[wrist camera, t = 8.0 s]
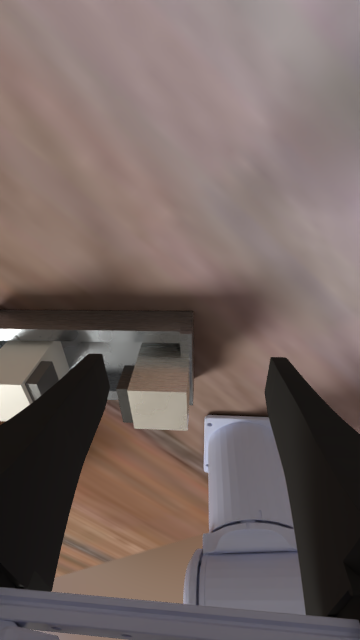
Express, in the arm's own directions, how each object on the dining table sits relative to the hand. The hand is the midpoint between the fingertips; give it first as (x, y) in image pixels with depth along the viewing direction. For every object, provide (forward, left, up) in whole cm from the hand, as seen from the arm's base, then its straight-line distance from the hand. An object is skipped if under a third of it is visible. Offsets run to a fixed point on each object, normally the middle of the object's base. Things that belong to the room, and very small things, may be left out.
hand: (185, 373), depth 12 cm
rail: (-6, +8, -9) cm, 14 cm away
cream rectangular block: (-6, +12, -8) cm, 16 cm away
